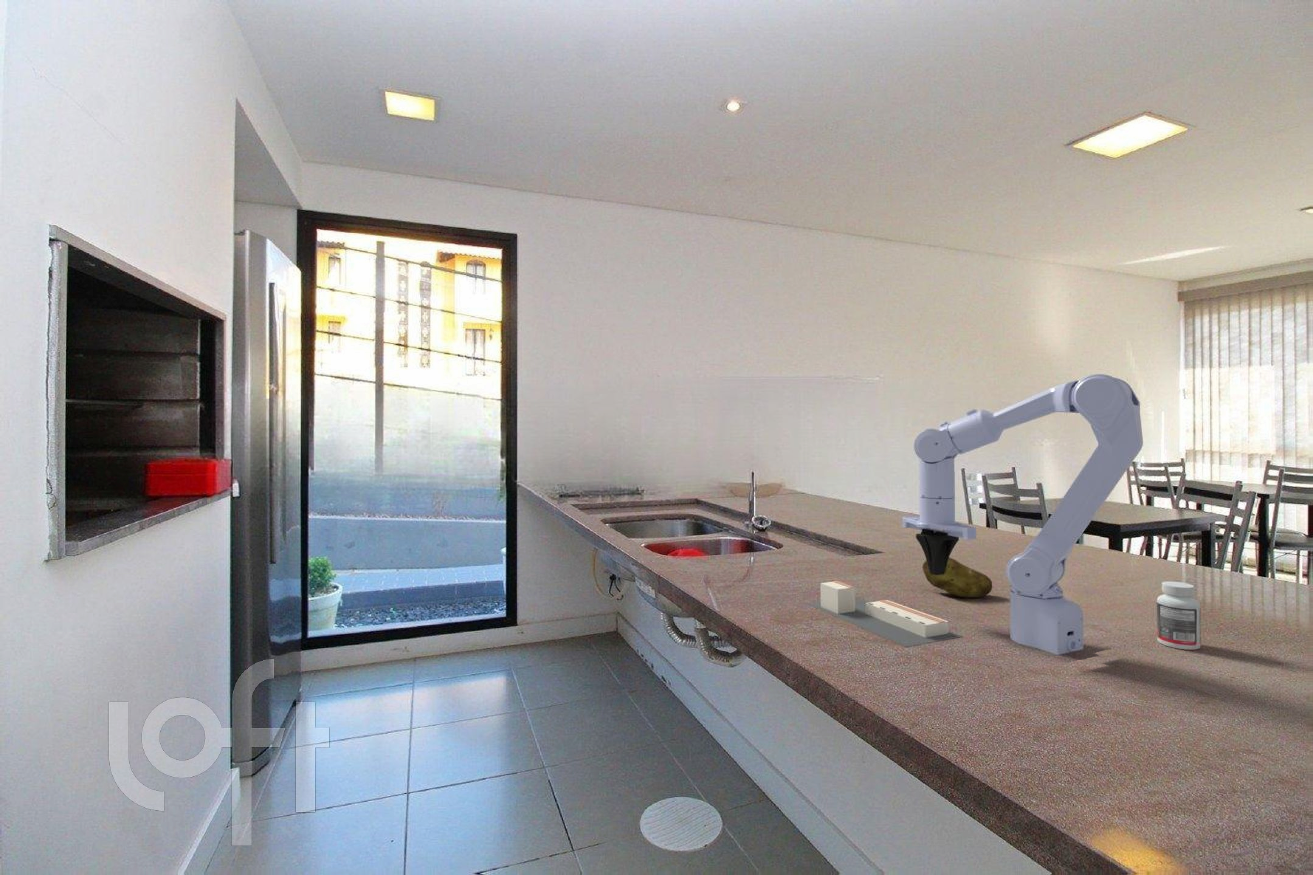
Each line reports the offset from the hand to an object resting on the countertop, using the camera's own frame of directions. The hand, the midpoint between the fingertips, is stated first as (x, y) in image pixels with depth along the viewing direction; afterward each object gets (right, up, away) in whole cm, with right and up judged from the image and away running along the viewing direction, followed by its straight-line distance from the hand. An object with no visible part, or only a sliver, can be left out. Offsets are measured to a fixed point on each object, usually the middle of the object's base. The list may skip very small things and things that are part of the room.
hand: (937, 573), depth 108 cm
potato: (+14, -9, +21) cm, 26 cm away
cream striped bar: (-6, -8, -1) cm, 11 cm away
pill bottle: (+34, -9, -10) cm, 37 cm away
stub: (-15, -8, +7) cm, 19 cm away
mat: (-10, -10, +1) cm, 14 cm away
